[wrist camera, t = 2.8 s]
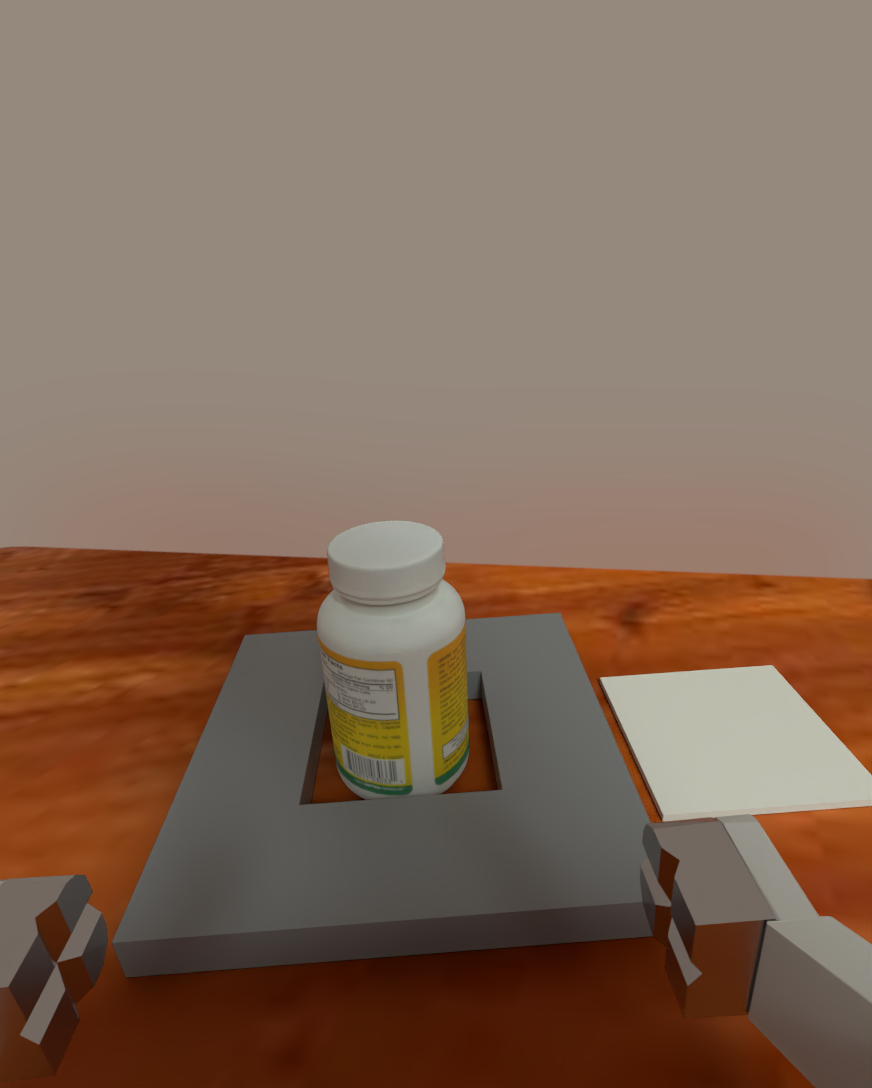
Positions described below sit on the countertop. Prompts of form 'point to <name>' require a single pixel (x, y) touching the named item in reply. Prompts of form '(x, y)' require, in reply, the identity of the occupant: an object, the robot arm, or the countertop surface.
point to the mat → (732, 744)
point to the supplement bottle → (394, 662)
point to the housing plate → (392, 825)
